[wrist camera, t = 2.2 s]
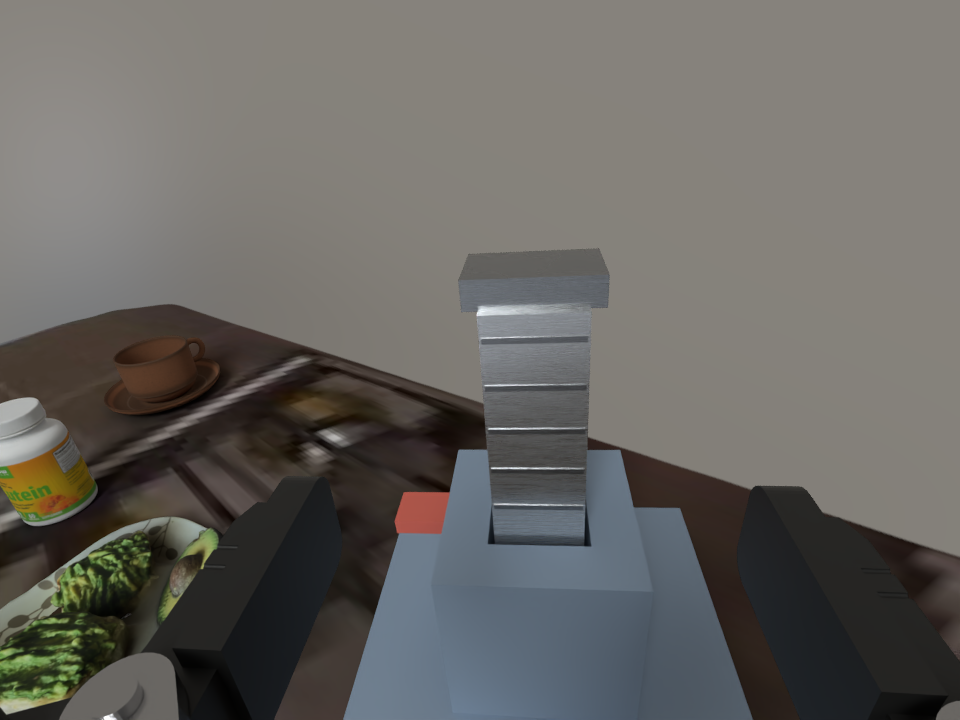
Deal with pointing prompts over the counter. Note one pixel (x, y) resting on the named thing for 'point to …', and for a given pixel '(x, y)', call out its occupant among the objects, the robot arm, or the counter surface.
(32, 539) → the counter surface
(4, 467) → the supplement bottle
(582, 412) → the jack stand column
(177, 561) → the salad plate
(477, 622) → the jack stand base
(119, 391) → the cup and saucer
